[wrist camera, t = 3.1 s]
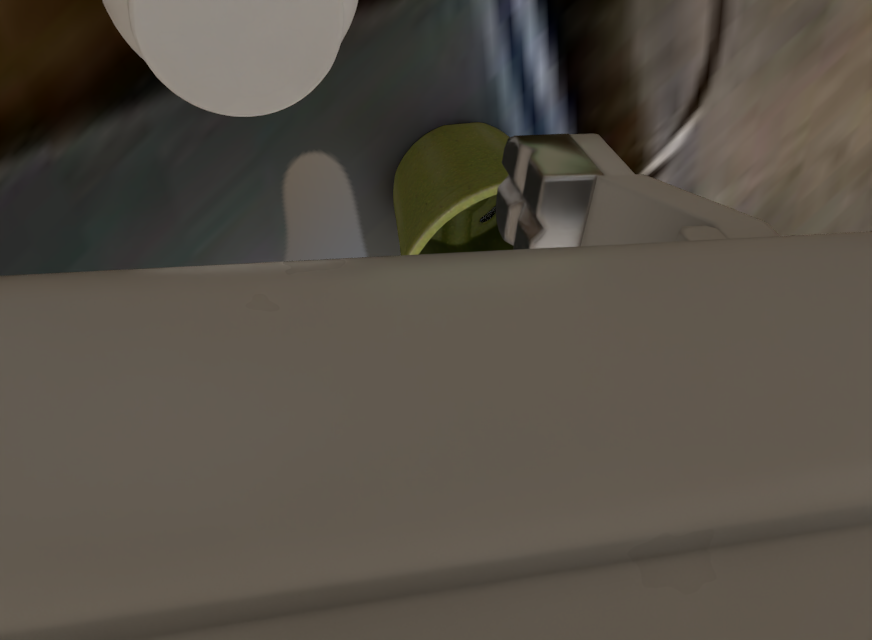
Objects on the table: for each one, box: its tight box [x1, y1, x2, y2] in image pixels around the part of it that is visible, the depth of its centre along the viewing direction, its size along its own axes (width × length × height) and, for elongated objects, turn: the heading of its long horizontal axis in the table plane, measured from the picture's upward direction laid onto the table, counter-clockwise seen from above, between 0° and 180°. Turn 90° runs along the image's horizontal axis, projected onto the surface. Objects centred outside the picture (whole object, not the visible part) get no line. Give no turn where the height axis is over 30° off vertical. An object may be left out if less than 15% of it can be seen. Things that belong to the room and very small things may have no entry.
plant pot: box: [393, 122, 514, 255], centre depth 33 cm, size 9×9×9 cm
